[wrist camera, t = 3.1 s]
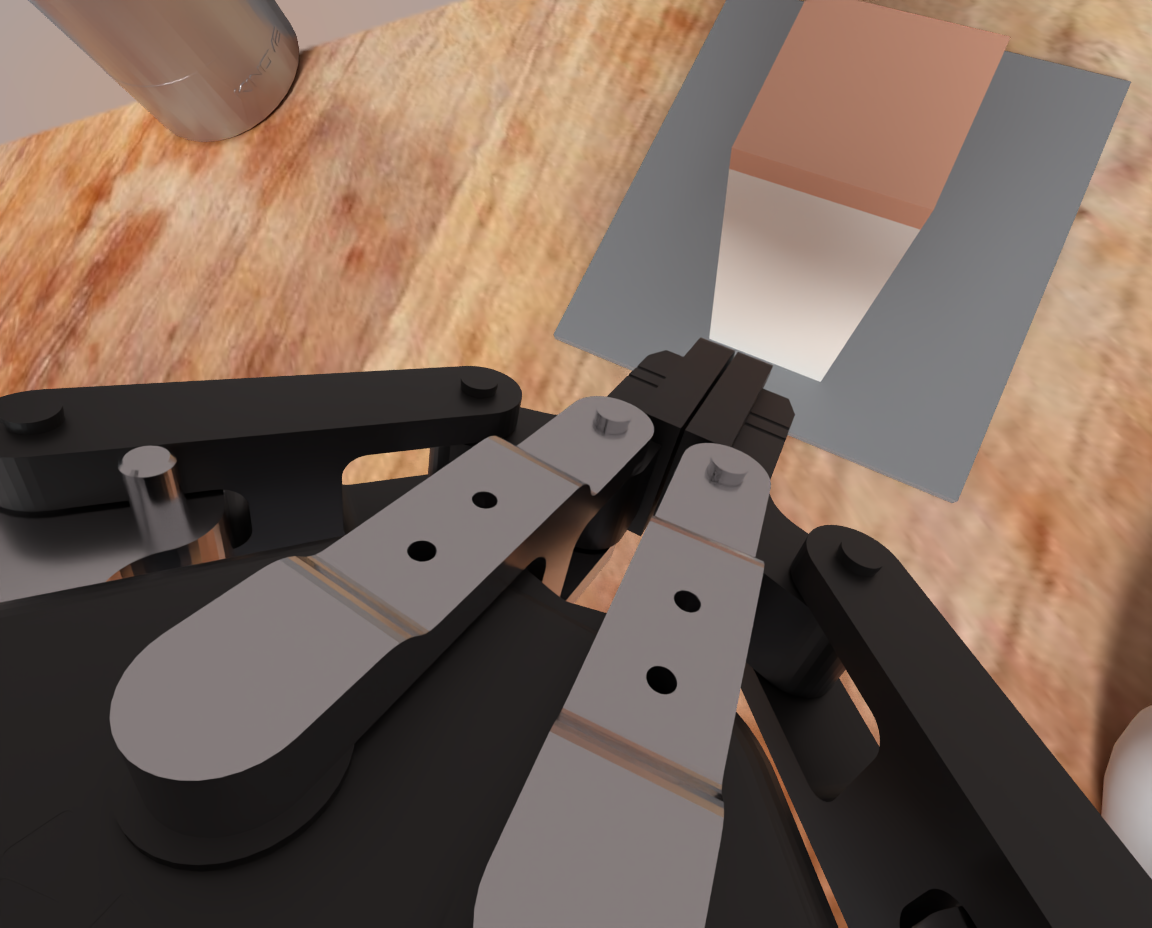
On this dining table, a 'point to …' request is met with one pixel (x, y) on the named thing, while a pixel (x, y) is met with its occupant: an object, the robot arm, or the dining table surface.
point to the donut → (1131, 789)
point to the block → (840, 173)
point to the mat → (916, 286)
